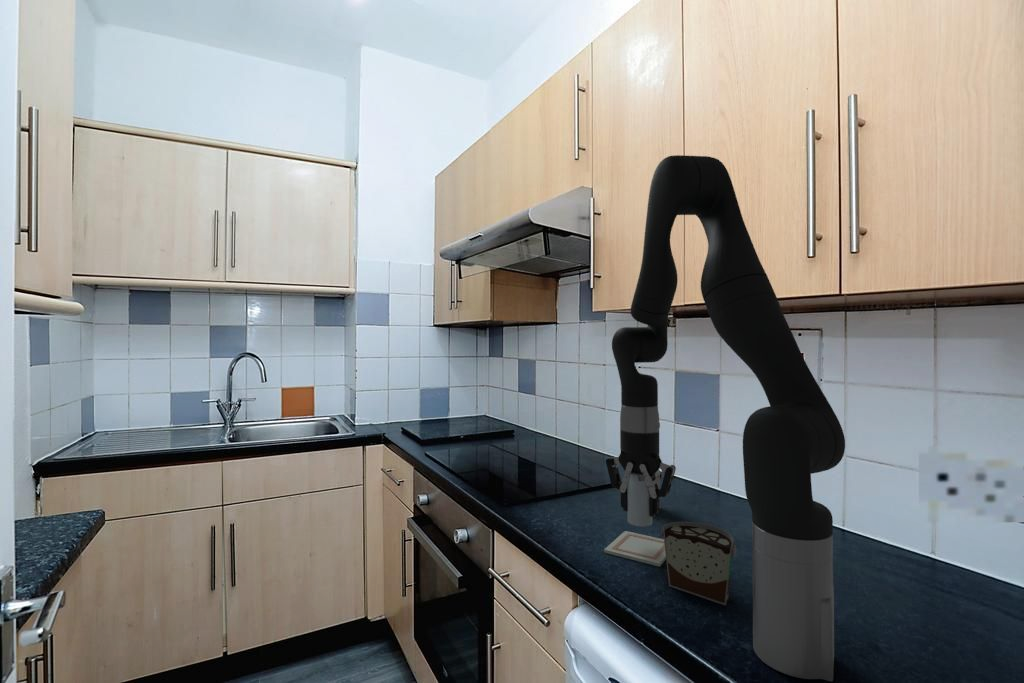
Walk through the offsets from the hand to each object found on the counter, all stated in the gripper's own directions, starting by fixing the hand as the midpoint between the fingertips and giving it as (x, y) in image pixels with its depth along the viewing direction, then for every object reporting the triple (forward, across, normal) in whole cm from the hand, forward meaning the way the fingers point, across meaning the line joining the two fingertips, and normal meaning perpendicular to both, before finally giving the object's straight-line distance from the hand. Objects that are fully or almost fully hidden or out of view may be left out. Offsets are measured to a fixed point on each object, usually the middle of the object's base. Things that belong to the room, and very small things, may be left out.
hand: (640, 512), depth 98 cm
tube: (+2, 0, 0) cm, 2 cm away
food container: (+7, +14, -9) cm, 18 cm away
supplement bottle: (+8, -7, +23) cm, 25 cm away
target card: (+7, 0, 0) cm, 7 cm away
